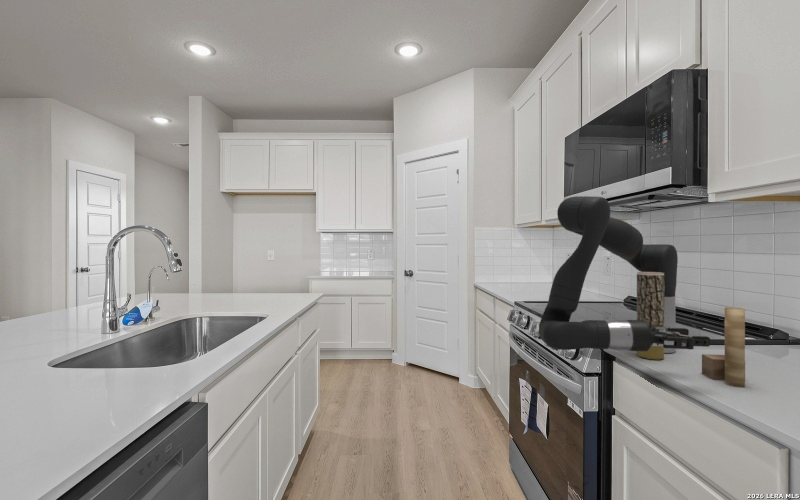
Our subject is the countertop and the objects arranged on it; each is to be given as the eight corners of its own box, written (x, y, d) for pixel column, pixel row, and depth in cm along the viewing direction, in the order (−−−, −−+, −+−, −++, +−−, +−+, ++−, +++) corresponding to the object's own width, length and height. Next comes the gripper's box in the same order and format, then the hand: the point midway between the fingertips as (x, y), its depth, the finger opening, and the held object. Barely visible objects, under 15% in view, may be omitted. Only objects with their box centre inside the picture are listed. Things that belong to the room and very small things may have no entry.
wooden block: (712, 379, 94) (712, 359, 94) (701, 373, 98) (701, 354, 98) (745, 380, 93) (745, 360, 93) (732, 374, 97) (732, 355, 97)
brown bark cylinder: (668, 361, 109) (668, 273, 108) (642, 359, 110) (642, 273, 110) (657, 354, 115) (657, 271, 115) (633, 353, 117) (632, 271, 116)
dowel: (721, 381, 93) (721, 307, 92) (737, 381, 92) (737, 307, 92) (731, 386, 89) (731, 309, 89) (748, 387, 88) (748, 310, 88)
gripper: (637, 326, 87) (717, 327, 85) (613, 314, 101) (681, 316, 99) (637, 358, 88) (717, 361, 85) (613, 342, 102) (681, 344, 99)
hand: (697, 337), depth 92 cm, fingers open, 8 cm apart
